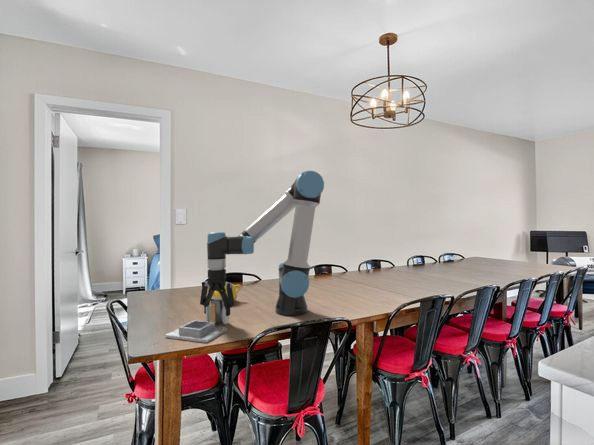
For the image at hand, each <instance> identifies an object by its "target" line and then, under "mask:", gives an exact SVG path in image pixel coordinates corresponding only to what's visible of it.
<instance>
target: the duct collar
mask: <svg viewBox="0 0 594 445" xmlns="http://www.w3.org/2000/svg"><path fill="white" fill-rule="evenodd" d="M227 331H228V327H222V326H216V325H215V322H211V321H209V322H208V321H206V320H197V319H194V320H191V321H190V322H187V323H185V324H183V325H181V326H179V327H178V328H177V329H174V330H173V331H170V332H167V333H166V334H165V335H164V338H167V339H172V340H179V341H180V340H182V341H189V342H197V343H205V344H208V343H210V341H213V340H214V339H216V338H217V337H219V336H220V335H223V334H224V333H226V332H227Z"/></svg>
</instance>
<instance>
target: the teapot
mask: <svg viewBox="0 0 594 445" xmlns="http://www.w3.org/2000/svg"><path fill="white" fill-rule="evenodd" d="M208 287H209V288H210V286H209V285H208ZM236 287H237V289H236ZM241 288H242V285H241V284H233V285H232V291H233V297H234V302H235V301H237V298H238V295H237V294H238V293H239V292H240V291H241ZM225 290H226V294H227V288H226V285H225ZM227 297H228V295H227ZM212 298H213V299H214V298H222V297H221V295H220V293H219V291H214V293H213V296H212ZM223 304H224V302H223Z"/></svg>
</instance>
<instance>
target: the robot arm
mask: <svg viewBox="0 0 594 445" xmlns="http://www.w3.org/2000/svg"><path fill="white" fill-rule="evenodd" d="M324 181H325V180H324V178H323V176H322V175H321V174H320V173H318V171H315V170H305V171H302V172H301V173H300V174H298V176H297V178H296V179H295V180H294V182H293V183H292V184H291V186H289V188H288V189H286V190H285V194H284V195H283V196H281V198H279V199H278V200H277V201H276V202H275V203H274V204H272V206H270V208H268V209H267V210H266V211H265V212H263V213H262V214H261V215H260V216H259V217H258V218H257V219H256V220H254V222H252V223H251V224H250V225H249V226H248V227H247V228H245V229H244V230H243V231H242V232H241V233H239V235H237V236H227V235H226V232H225V231H214V232H213V231H212V232H208V234H207V241H206V242H207V243H206V245H207V246H206V249H207V253H206V254H207V278H208V280H205V281H202V282H201V294H200V299H199V300H200V302H199V305H202V306H203V307H204V308H203V312H204V314H205V321H208V322H211V299H213V293H214V292H215V291H219V293H220V295H221V297H222V300H223V302H224V303H223V306H224V323H223V325H227V324H229V323H230V316H231V308H233V307H235V301H234V297H233V291H232V285H234V284H233V282H228V281H227V269H226V267H227V256H226V255H251V254H252V255H253V254H254V252H255V243H257V241H259V239H261V238H262V237H263V236H265V235H266V233H268V232H269V231H270V230H271V229H272V228H273V227H274V226H276V225H277V224H278V223H279V222H280V221H281V220H282V219H283V218H284V217H286V216H287V215H288V214H289V213H290V212H291V211H292V210H294V214H293V215H294V216H293V223H292V227H291V228H292V229H291V236H290V242H289V248H288V253H287V254H288V255H287V260H285V261H284V262H283V263H282V262H281V263H278V264H279V265H278V298H277V301H276V304H275V313H276V314H279V315H283V316H300V315H303V314H306V313H307V312H308V304H307V301H306V299H305V294H306V293H307V292H308V290H309V287H310V280H309V276H310V270H311V269H310V268H311V266H310V265H309V263H308V261H309V260H308V258H309V252H310V247H311V246H310V245H311V240H312V238H311V237H312V233H313V227H314V220H315V212H316V208H317V207H318V206H319V205H320V203H321V196H322V193H323V191H324V189H325V182H324ZM208 285H209V286H210V287H209V286H208ZM225 285H226V288H227V294H226V290H225ZM208 287H209V288H208ZM227 295H228V297H227Z"/></svg>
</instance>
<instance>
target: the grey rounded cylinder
mask: <svg viewBox="0 0 594 445" xmlns="http://www.w3.org/2000/svg"><path fill="white" fill-rule="evenodd" d="M210 306H211V321H210V322H215V326H220V325H224V308H225V305H224V303H223V300H222V298H214V297H213V298H212V299H211V301H210Z"/></svg>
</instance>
